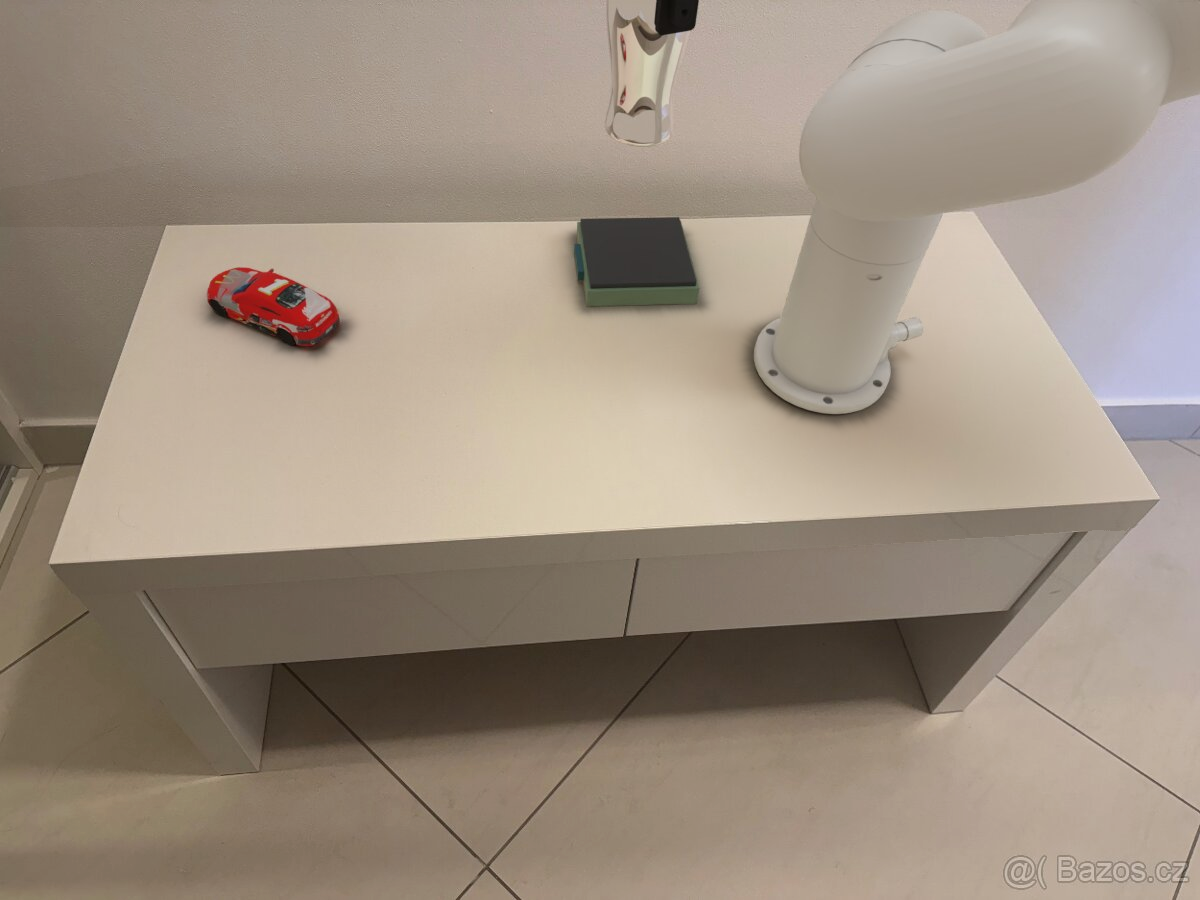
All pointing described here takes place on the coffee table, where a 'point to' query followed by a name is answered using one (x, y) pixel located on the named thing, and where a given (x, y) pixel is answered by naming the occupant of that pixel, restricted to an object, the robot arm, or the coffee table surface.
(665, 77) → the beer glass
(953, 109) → the robot arm
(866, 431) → the coffee table surface
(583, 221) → the scale
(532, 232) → the coffee table surface
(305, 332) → the race car
